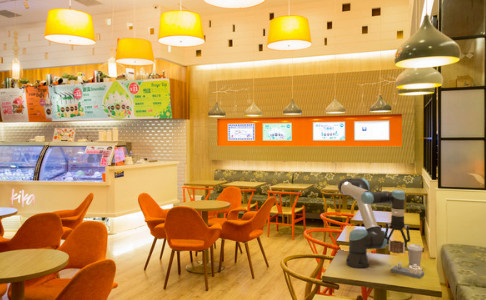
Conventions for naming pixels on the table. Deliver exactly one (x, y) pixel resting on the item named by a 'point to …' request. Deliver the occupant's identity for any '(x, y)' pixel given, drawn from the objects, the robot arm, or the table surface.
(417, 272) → the gear board
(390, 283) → the table surface
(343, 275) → the table surface
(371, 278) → the table surface
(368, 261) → the robot arm
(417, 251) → the coffee cup
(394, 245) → the walnut gear
